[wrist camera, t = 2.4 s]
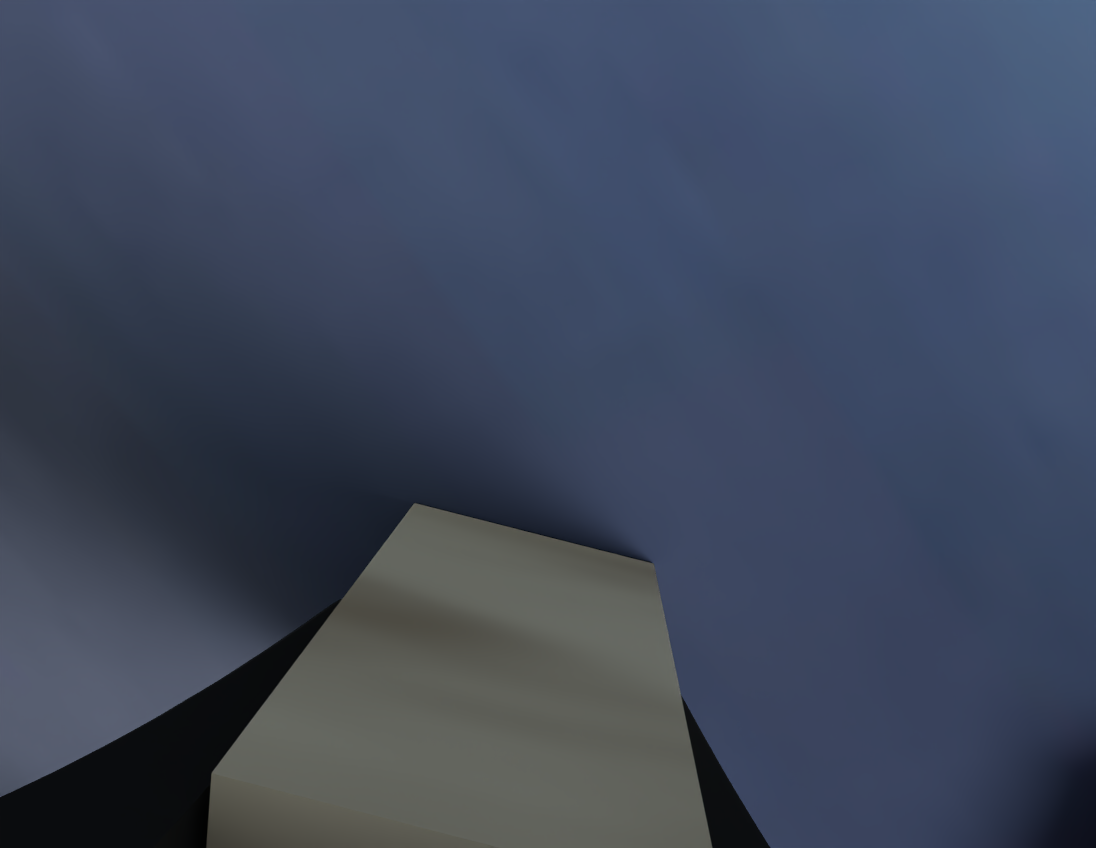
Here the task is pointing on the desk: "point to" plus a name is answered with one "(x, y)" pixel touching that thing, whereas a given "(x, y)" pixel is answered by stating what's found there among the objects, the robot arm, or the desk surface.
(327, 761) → the metal block
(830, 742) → the desk surface
